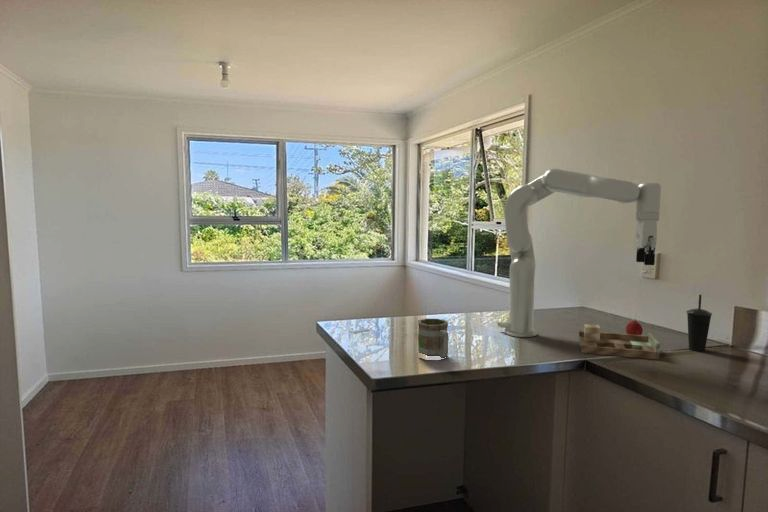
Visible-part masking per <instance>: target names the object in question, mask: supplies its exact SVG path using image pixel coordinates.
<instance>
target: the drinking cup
mask: <svg viewBox="0 0 768 512" xmlns="http://www.w3.org/2000/svg"><path fill="white" fill-rule="evenodd" d="M701 307H702V294H699V295H698V308H691V309H688V310H686V313H687V332H688V333H687V334H688V349H689V350H691V351H694V352H699V353H700V352H705V351H706V348H707V342H708V335H709V331H710V324H711V317H712V316H713V313H712V312H710V311H708V310H706V309H703V308H701Z"/></svg>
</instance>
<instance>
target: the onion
mask: <svg viewBox="0 0 768 512" xmlns="http://www.w3.org/2000/svg"><path fill="white" fill-rule="evenodd" d="M643 330H644V329H643V326H642V324H640V323H639V322H638V321H637V319H636V318H633V319H632V321H630V322H628V323H627V325H626V327H625V334H632V335H643Z"/></svg>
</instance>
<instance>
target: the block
mask: <svg viewBox="0 0 768 512" xmlns="http://www.w3.org/2000/svg"><path fill="white" fill-rule="evenodd" d="M583 331H584V340H585V341H596V342H600V332H601V327H600V325H599V324H589V323H584V324H583Z"/></svg>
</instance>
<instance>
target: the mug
mask: <svg viewBox="0 0 768 512" xmlns="http://www.w3.org/2000/svg"><path fill="white" fill-rule="evenodd" d="M417 325H418V326H417V327H418V328H417V329H418V331H417V332H418V334H417V342H418V343H417V345H418V346H417V347H418V349H417V350H418V351H419V353H422V354H425V355H427V356H440V357H441V358H445V357H448V355H449V340H450V339H449V333H448V327H449V323H448V320H445V319H441V318H424V319H419V320H417ZM418 351H417V352H418Z"/></svg>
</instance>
